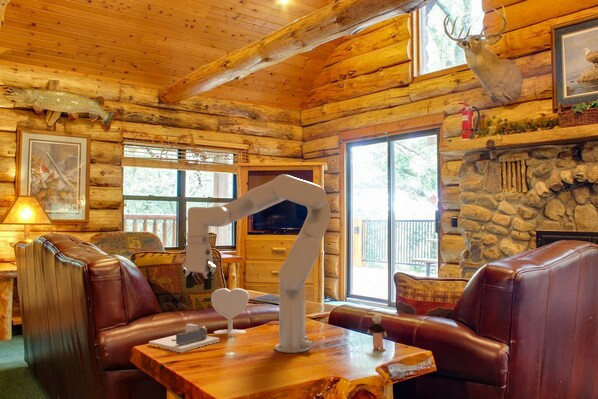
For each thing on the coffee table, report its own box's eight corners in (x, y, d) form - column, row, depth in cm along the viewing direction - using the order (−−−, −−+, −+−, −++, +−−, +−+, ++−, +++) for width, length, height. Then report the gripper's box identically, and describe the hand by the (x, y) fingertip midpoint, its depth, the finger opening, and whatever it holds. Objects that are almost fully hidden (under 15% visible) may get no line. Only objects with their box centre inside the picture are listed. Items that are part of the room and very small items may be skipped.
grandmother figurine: (389, 349, 175) (388, 314, 176) (386, 352, 172) (386, 315, 172) (368, 347, 178) (368, 312, 179) (365, 350, 175) (365, 314, 176)
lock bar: (203, 336, 189) (203, 325, 189) (208, 337, 187) (208, 326, 187) (174, 343, 178) (175, 332, 178) (180, 345, 176) (180, 333, 176)
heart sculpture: (210, 333, 203) (210, 289, 204) (212, 330, 208) (212, 288, 209) (248, 332, 203) (248, 289, 204) (249, 330, 208) (249, 287, 209)
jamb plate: (219, 341, 188) (219, 327, 188) (180, 352, 173) (180, 337, 173) (188, 335, 199) (188, 322, 199) (148, 345, 183) (149, 330, 184)
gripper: (222, 240, 176) (223, 289, 175) (190, 240, 186) (190, 286, 186) (207, 241, 170) (207, 291, 169) (174, 241, 180) (174, 288, 180)
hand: (198, 288), depth 177 cm, fingers open, 8 cm apart
